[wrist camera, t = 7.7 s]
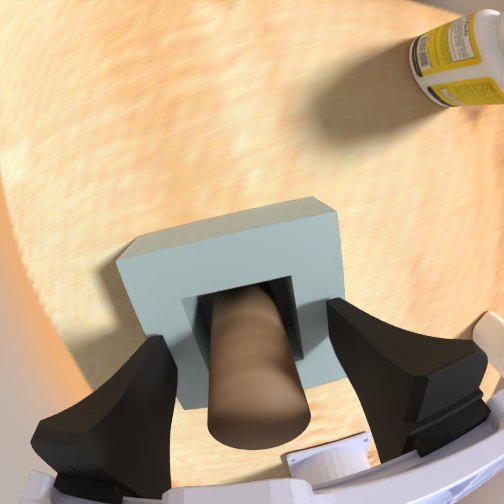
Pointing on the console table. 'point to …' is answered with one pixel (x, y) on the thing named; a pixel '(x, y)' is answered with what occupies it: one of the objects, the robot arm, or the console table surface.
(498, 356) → the eye dropper bottle
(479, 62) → the supplement bottle
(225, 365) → the pin
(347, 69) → the console table surface
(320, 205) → the socket block
